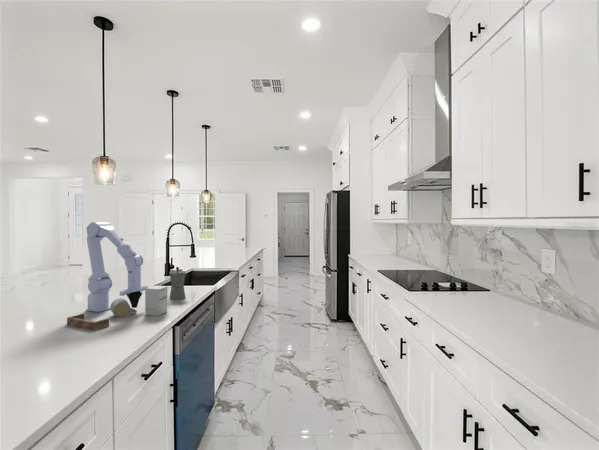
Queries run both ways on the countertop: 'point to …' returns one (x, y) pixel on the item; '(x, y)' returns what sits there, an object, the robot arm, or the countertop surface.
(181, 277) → the coffeepot
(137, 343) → the countertop surface
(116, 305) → the ceramic mug
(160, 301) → the supplement box
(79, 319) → the rail
